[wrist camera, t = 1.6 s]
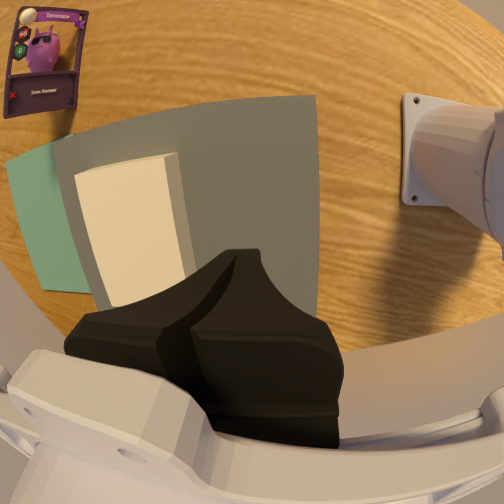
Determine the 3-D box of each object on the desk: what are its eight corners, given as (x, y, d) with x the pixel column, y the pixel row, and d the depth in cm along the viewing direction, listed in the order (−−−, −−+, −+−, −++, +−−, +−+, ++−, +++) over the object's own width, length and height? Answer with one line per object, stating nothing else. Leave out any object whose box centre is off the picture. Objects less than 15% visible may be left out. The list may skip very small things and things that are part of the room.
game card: (6, 117, 11) (24, 2, 7) (-8, 125, 13) (4, 27, 9) (81, 106, 17) (94, 8, 13) (55, 113, 19) (64, 26, 15)
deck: (308, 101, 16) (315, 95, 13) (311, 289, 22) (315, 321, 19) (84, 136, 18) (52, 143, 15) (120, 288, 24) (99, 314, 21)
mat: (75, 133, 18) (73, 133, 18) (113, 292, 25) (112, 294, 24) (7, 161, 20) (5, 162, 19) (43, 288, 26) (42, 289, 26)
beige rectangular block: (177, 152, 15) (163, 157, 13) (200, 292, 18) (192, 310, 17) (93, 168, 15) (74, 175, 14) (124, 290, 19) (112, 306, 17)
